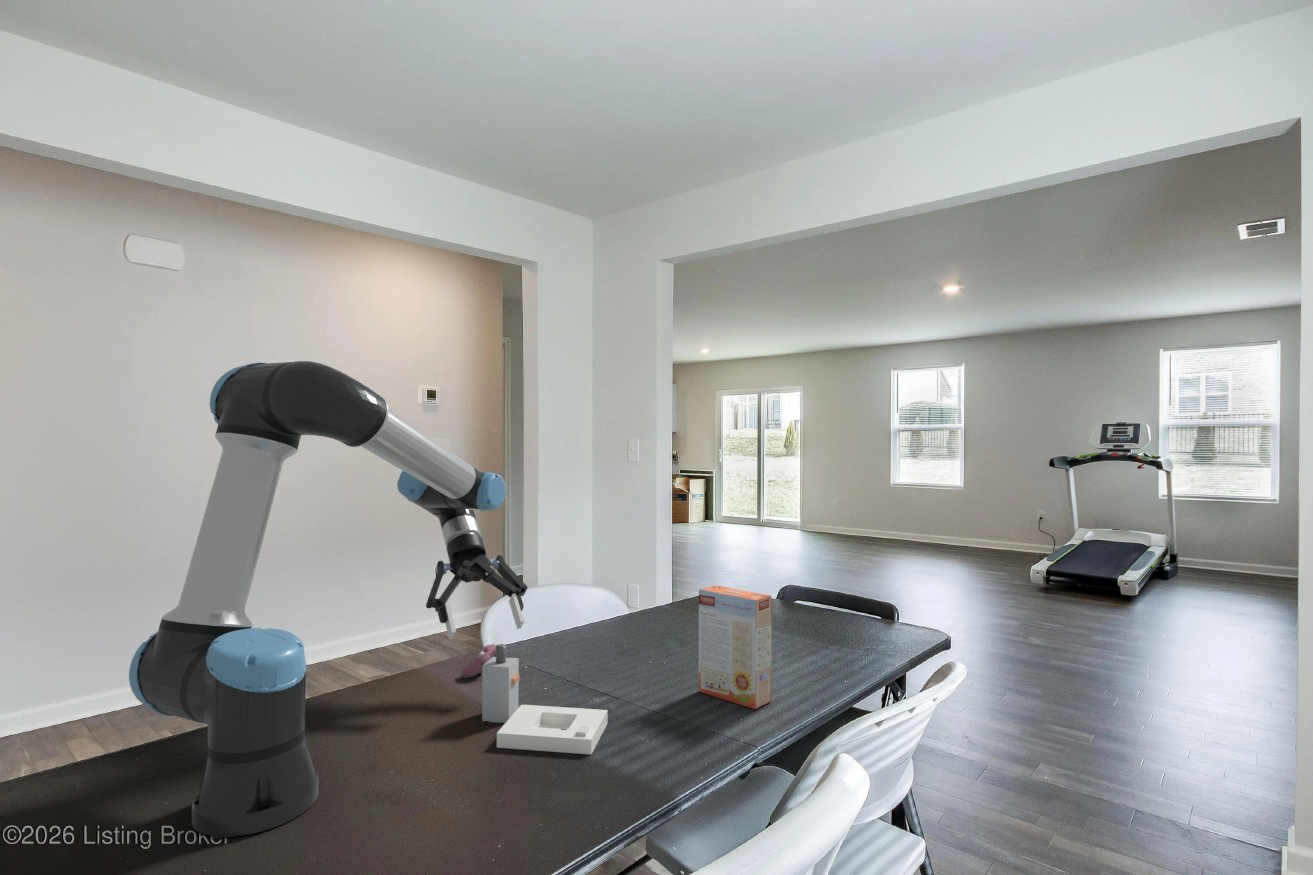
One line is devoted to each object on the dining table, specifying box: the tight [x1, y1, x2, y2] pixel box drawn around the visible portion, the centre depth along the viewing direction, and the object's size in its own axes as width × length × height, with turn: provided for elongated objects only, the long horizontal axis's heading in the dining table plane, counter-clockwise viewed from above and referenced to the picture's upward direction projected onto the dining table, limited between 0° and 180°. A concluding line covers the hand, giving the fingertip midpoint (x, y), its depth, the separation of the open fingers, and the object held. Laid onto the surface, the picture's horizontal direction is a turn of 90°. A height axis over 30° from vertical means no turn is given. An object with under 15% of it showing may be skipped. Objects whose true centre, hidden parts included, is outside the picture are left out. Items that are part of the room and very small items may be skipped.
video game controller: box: [461, 642, 499, 679], centre depth 149 cm, size 10×5×7 cm, turn 169°
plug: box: [481, 643, 521, 724], centre depth 125 cm, size 6×5×13 cm
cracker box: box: [697, 584, 772, 710], centre depth 135 cm, size 14×6×21 cm, turn 47°
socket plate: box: [496, 704, 609, 755], centre depth 117 cm, size 16×12×3 cm
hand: (487, 630), depth 133 cm, fingers open, 13 cm apart
